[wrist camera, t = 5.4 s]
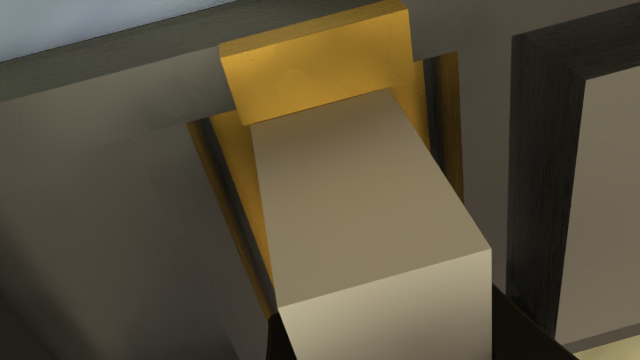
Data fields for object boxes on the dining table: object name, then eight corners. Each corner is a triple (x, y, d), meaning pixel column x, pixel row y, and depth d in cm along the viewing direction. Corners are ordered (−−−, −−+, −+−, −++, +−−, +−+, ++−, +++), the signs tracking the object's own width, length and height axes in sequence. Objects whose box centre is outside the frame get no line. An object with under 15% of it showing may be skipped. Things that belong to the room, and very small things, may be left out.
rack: (648, 272, 18) (712, 341, 16) (92, 429, 17) (75, 523, 15) (755, -136, 11) (904, -117, 8) (-197, 113, 10) (-310, 203, 8)
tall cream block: (419, 322, 16) (492, 496, 12) (323, 349, 16) (364, 533, 12) (387, 87, 11) (491, 248, 7) (250, 125, 11) (277, 307, 7)
